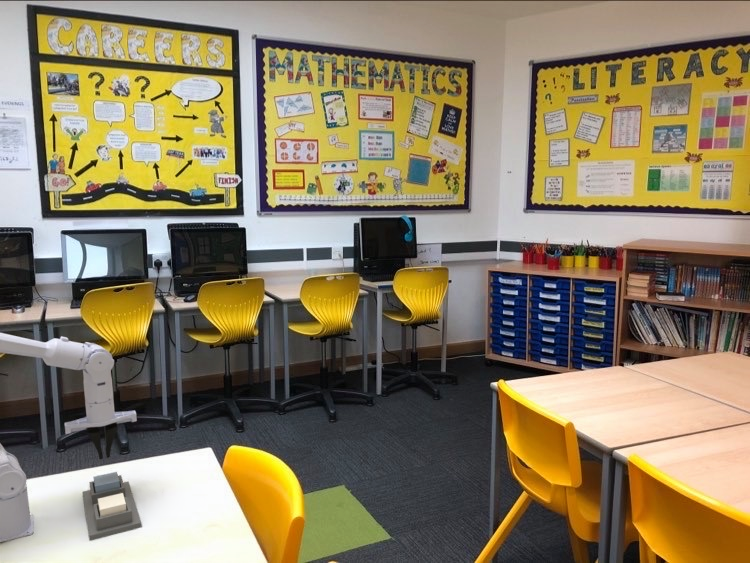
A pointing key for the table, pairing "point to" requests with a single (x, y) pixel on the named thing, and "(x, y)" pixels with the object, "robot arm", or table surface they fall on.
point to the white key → (111, 505)
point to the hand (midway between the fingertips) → (104, 456)
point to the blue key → (106, 482)
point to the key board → (111, 522)
